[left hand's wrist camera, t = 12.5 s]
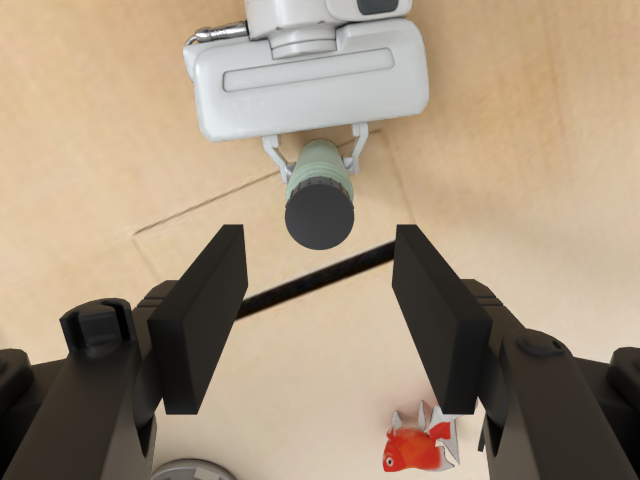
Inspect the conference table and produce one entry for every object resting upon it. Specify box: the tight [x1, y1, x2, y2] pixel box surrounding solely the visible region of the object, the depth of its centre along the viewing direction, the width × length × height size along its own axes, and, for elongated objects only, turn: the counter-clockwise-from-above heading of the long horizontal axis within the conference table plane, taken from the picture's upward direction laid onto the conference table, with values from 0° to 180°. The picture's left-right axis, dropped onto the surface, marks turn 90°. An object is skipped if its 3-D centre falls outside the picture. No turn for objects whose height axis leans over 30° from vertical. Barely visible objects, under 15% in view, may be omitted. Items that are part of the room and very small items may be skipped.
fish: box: [383, 398, 478, 472], centre depth 48 cm, size 11×16×10 cm
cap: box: [285, 175, 354, 250], centre depth 20 cm, size 4×4×2 cm
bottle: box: [286, 139, 353, 202], centre depth 29 cm, size 4×4×21 cm
